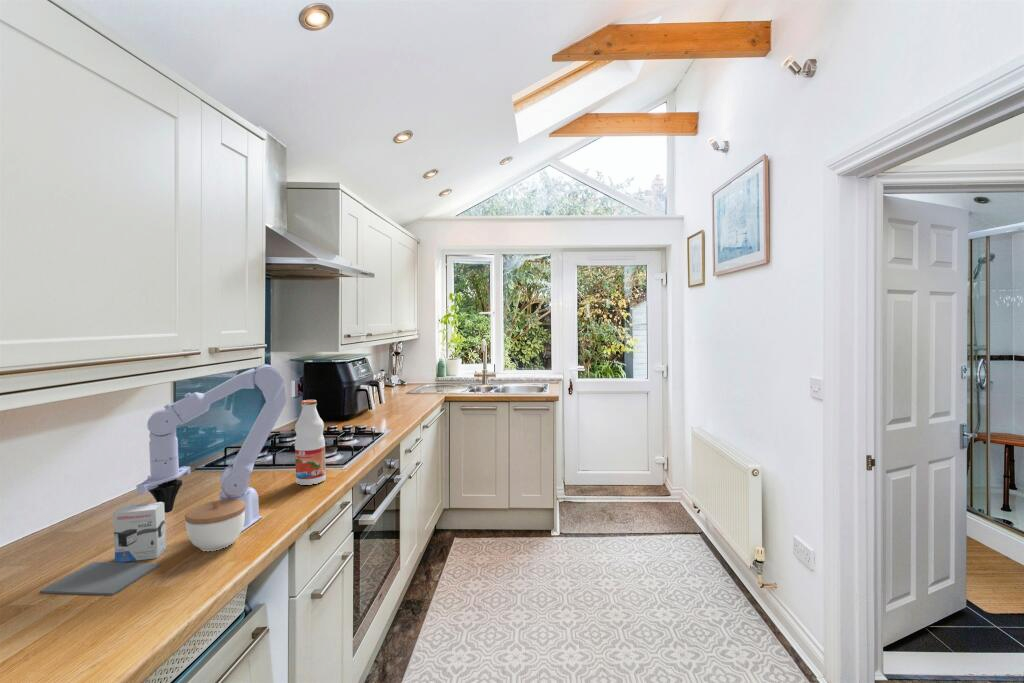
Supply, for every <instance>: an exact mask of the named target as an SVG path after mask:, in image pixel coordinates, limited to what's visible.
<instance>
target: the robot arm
mask: <svg viewBox="0 0 1024 683" xmlns="http://www.w3.org/2000/svg"><path fill="white" fill-rule="evenodd" d="M255 385H256V386H257V387H258V388H259V390H260V391H261V393H262V395H263V397H264V400H265V403H264V404H263V406H262V407H261V410H260V412H259V414H258V416H257V418H256V419H255V421H254V422H253V424H252V427H251V429H250V430H249V432H248V434H247V436H246V438H245V440H244V441H243V444H242V445H241V447H240V449H239V451H238V452H237V454H236V455H235V456H234V458H233V459H232V461H231V462H230V464H229V465H228V466H227V467H225V468H224V469H223V470H222V472H221V473H220V474H221V475H220V482H221V484H220V489H221V491H220V492H219V496H218V497H219V498H218V500H223V499H238V500H242V501H244V502H245V521H244V526H243V529H242V531H241V533H243V531H245V530H246V529H248V528H249V527H251V526H252V525H254V524H255V523H256V522H258V521H259V520H260V518H261V517H262V518H263V516H262V515H260V514H259V513H260V512H259V511H260V510H259V495H258V492H257V491H256V489H255V488H253V487H251V486H250V477H251V475H252V473H253V469H254V467H255V462H256V461H257V459H258V457H259V455H260V453H261V451H262V450H263V448H264V446H265V444H266V442H267V440H268V438H269V436H270V434H271V432H272V431H273V429H274V427H275V424H276V423H277V421H278V420H279V418H280V415H281V413H282V411H283V410H284V407H286V403H287V396H286V395H287V394H286V388H285V378H284V377H283V376H282V374H281V372H280V371H279V370H278V369H277V368H276V367H275V366H273V365H271V364H268V363H264V364H263V363H262V364H260V365H258V366H255V368H254V367H253V368H250V369H248V370H245V371H243V372H241V373H239V374H237V375H235V376H233V377H231V378H229V379H228V380H226V381H225V382H222V383H220V384H218V385H217V386H215V387H213V388H212V389H210V390H208V391H206V392H204V393H202V392H197V391H195V392H193V393H191V392H188V393H186V394H184V397H182V398H181V399H180V400H177V401H175V402H173V403H172V404H171V403H170V404H169V403H168V404H165V405H164V406H163V408H164V409H163V408H162V409H158V410H156V411H155V412H154V411H153V412H154V413H152V414H151V416H150V417H149V418H148V420H147V423H146V424H147V426H146V427H147V430H148V431H149V434H148V435H149V437H148V438H149V441H148V442H149V443H148V444H149V446H148V447H149V448H148V449H149V467H150V468H149V469H150V475H147V479H145V480H144V481H143V482H141V483H139V484H136V494H146V493H148V492H149V493H150V494H151V495H152V496H153V498H154V499H155V502H162V503H164V510H165V514H167V513H171V512H172V511H173V509H174V505H175V501H176V498H177V495H178V492H179V490H180V489H181V487H182V485H183V480H182V479H179V478H181V477H183V476H186V475H187V476H188V475H190V474H191V466H181V467H180V466H179V463H180V462H179V442H178V440H179V439H178V437H177V426H178V425H179V426H181V425H185V424H186V423H188V422H190V421H192V420H194V419H196V418H197V417H199V416H201V415H203V414H205V413H206V412H209V410H210V407H211V404H213V403H216V402H218V401H219V400H221V399H224V398H225V397H228V396H229V395H232V394H233V393H236V392H237V391H239V390H241V389H242V390H243V389H246V390H247V389H253V390H254V389H255ZM262 518H261V519H262ZM253 523H254V524H253Z"/></svg>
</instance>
